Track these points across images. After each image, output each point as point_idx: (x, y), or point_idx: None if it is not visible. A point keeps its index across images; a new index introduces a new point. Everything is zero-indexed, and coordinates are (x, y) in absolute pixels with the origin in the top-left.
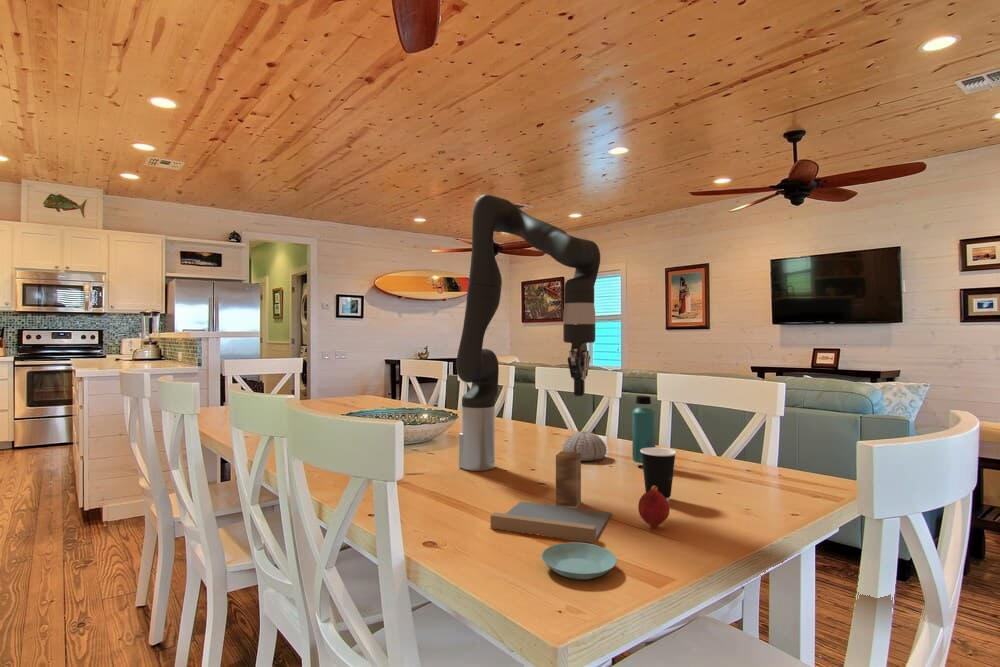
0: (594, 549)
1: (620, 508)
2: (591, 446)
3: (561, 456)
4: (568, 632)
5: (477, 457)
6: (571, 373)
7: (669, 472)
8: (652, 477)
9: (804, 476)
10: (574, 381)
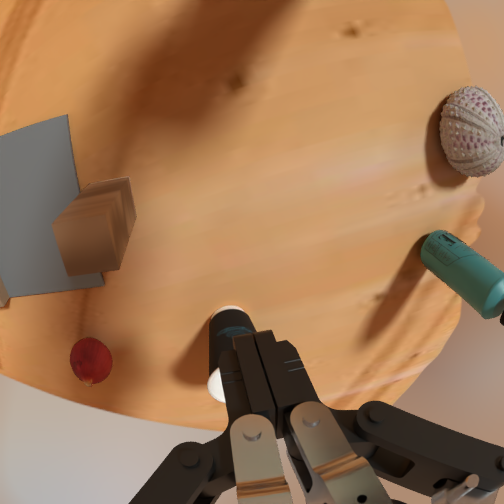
0: None
1: (144, 286)
2: (462, 155)
3: (56, 239)
4: None
5: None
6: (151, 481)
7: None
8: (209, 348)
9: (392, 395)
10: (250, 407)
